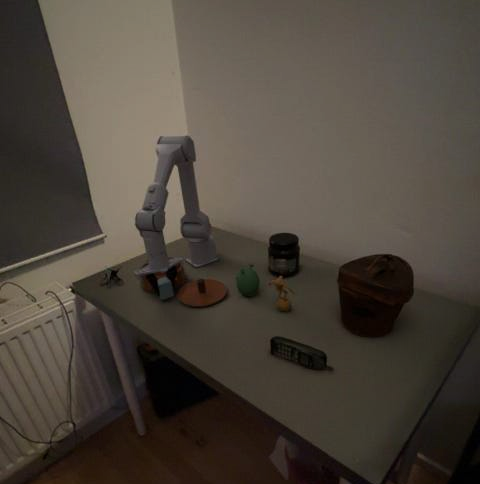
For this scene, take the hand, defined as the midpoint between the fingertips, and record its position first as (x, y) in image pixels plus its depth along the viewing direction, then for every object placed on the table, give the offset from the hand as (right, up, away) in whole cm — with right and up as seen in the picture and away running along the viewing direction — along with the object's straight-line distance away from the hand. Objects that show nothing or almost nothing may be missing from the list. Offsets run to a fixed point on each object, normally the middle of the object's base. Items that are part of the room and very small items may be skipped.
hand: (164, 292), depth 106 cm
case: (+57, -8, -14) cm, 59 cm away
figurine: (+35, -6, -7) cm, 36 cm away
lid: (+11, 0, +3) cm, 12 cm away
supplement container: (+38, +7, +13) cm, 41 cm away
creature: (-20, +3, +13) cm, 24 cm away
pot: (-3, +4, +12) cm, 12 cm away
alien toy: (+26, -1, +2) cm, 26 cm away
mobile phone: (+37, -17, -25) cm, 48 cm away
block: (0, -1, +1) cm, 1 cm away
